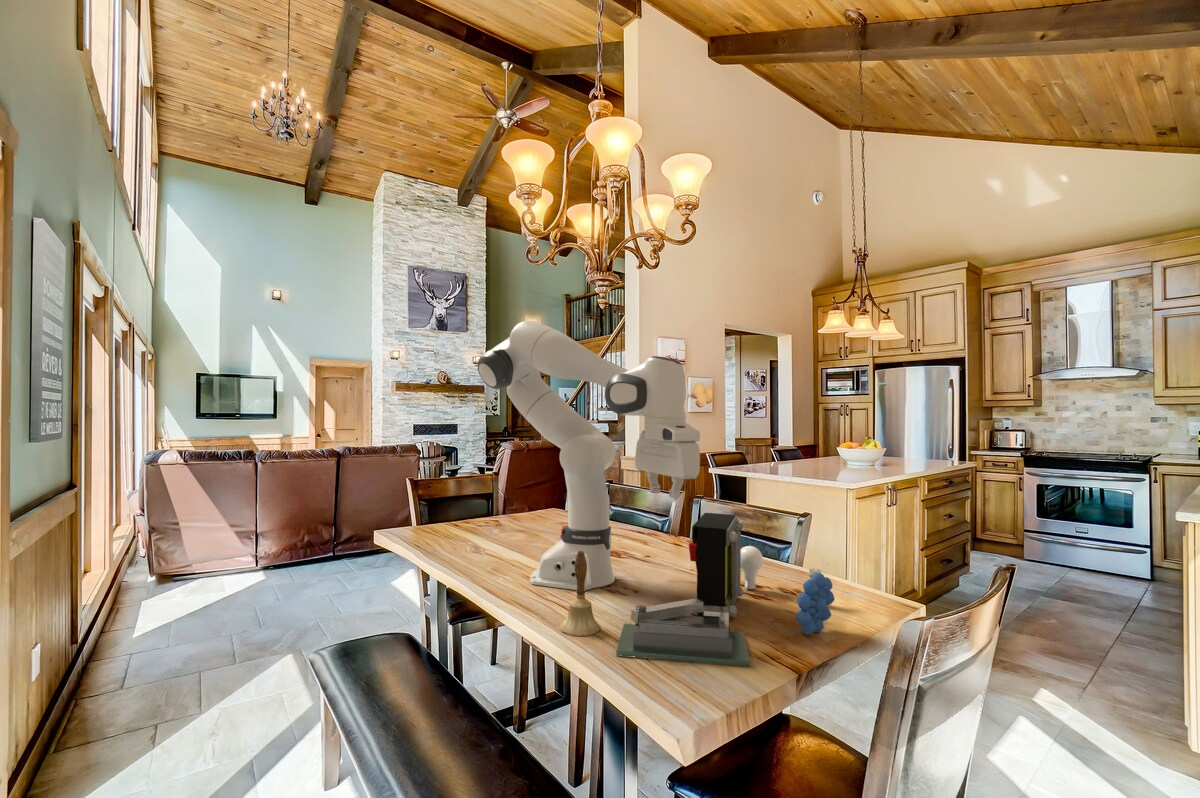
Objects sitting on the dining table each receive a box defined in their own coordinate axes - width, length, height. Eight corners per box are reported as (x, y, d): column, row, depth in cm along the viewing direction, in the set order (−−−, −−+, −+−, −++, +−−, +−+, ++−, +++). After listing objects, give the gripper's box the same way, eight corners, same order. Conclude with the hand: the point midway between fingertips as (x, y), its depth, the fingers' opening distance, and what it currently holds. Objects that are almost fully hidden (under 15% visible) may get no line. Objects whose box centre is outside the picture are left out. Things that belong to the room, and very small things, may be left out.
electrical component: (735, 623, 116) (735, 529, 117) (688, 617, 120) (688, 526, 120) (743, 597, 133) (743, 515, 133) (701, 592, 136) (702, 512, 137)
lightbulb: (760, 586, 142) (760, 543, 142) (765, 594, 135) (765, 549, 136) (735, 585, 142) (735, 542, 142) (739, 593, 136) (739, 548, 136)
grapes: (812, 619, 119) (812, 564, 119) (841, 629, 114) (842, 572, 114) (780, 632, 112) (780, 573, 112) (810, 643, 107) (810, 582, 107)
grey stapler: (616, 656, 100) (616, 615, 100) (624, 628, 113) (624, 592, 113) (750, 666, 97) (750, 624, 97) (742, 636, 109) (742, 599, 110)
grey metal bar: (637, 624, 104) (637, 610, 104) (631, 619, 107) (631, 606, 107) (703, 611, 111) (703, 599, 111) (695, 607, 113) (695, 595, 113)
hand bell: (603, 635, 110) (604, 555, 110) (563, 638, 108) (564, 557, 108) (595, 619, 118) (596, 545, 118) (557, 622, 116) (558, 547, 117)
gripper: (628, 429, 125) (628, 489, 125) (679, 433, 107) (679, 503, 106) (652, 429, 128) (651, 488, 128) (705, 433, 110) (705, 501, 109)
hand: (664, 495), depth 117 cm, fingers open, 6 cm apart
